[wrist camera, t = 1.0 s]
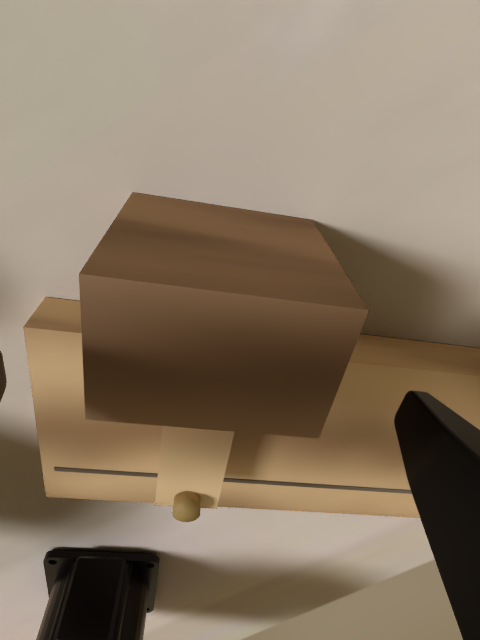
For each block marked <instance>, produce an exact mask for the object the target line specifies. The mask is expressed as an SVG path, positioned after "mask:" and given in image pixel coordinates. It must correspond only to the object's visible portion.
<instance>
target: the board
mask: <svg viewBox="0 0 480 640" xmlns="http://www.w3.org/2000/svg"><path fill="white" fill-rule="evenodd" d="M23 328H24V335H25V343H26V350H27V358H28V365H29V373H30V380H31V388H32V396H33V403H34V411H35V418H36V426H37V433H38V441H39V448H40V456H41V463H42V471H43V479H44V486H45V494H46V497H56V498H74V499H92V500H110V501H128V502H146V503H155V497H156V487H157V477H158V467H159V456H160V446H161V436H162V426H157V425H145V424H133V423H120V422H108V421H95V420H85V401H84V378H83V354H82V331H81V307H80V301H74V300H66V299H57V298H49V297H45V298H44V300H43V301H42V302H41V304H40V305H39V307H38V308H37V309H36V311H35V312H34V313H33V315H32V316H31V317H30V319H29V320H28V322H27V323H26V324H25V326H24V327H23ZM411 390H414V391H424V392H427V393H429V394H431V395H432V396H433V397H435V398H436V399H437V400H439V401H440V402H442V403H443V404H444V405H446V406H447V407H449V408H450V409H451V410H453V411H454V412H456V413H457V414H458V415H460V416H461V417H462V418H464V419H465V420H467V421H468V422H469V423H471V424H472V425H474V426H475V427H476V428H478V429H479V430H480V348H473V347H465V346H456V345H448V344H439V343H431V342H422V341H414V340H405V339H397V338H388V337H380V336H371V335H363V334H360V335H359V338H358V340H357V343H356V345H355V348H354V350H353V353H352V355H351V358H350V361H349V363H348V366H347V368H346V371H345V373H344V376H343V378H342V381H341V384H340V386H339V389H338V391H337V394H336V396H335V399H334V401H333V404H332V407H331V409H330V412H329V414H328V417H327V419H326V422H325V424H324V427H323V430H322V432H321V435H320V437H319V439H318V438H306V437H293V436H281V435H269V434H256V433H244V432H234V436H233V441H232V445H231V449H230V454H229V458H228V462H227V467H226V471H225V475H224V480H223V484H222V488H221V493H220V497H219V501H218V506H217V507H235V508H253V509H271V510H289V511H307V512H325V513H343V514H361V515H378V516H396V517H414V518H420V515H419V513H418V510H417V507H416V504H415V501H414V498H413V496H412V492H411V489H410V486H409V483H408V479H407V476H406V472H405V467H404V463H403V459H402V455H401V451H400V447H399V442H398V438H397V434H396V430H395V425H394V418H395V414H396V412H397V410H398V408H399V406H400V404H401V402H402V400H403V398H404V397H405V395H406V393H407V392H408V391H411Z"/></svg>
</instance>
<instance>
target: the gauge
mask: <svg viewBox="0 0 480 640" xmlns="http://www.w3.org/2000/svg"><path fill="white" fill-rule="evenodd" d="M79 283H80V307H81V331H82V354H83V378H84V401H85V420H95V421H108V422H120V423H133V424H145V425H157V426H162V436H161V446H160V456H159V467H158V477H157V487H156V497H155V505H158V506H173V517H174V518H175V519H177V520H179V521H182V522H190V521H194V520H196V519H197V518H198V517H199V516H200V508H212V509H217V506H218V501H219V497H220V493H221V488H222V484H223V480H224V475H225V471H226V467H227V462H228V458H229V454H230V449H231V445H232V441H233V436H234V432H244V433H256V434H269V435H281V436H293V437H306V438H318V439H319V437H320V435H321V432H322V430H323V427H324V424H325V422H326V419H327V417H328V414H329V412H330V409H331V407H332V404H333V401H334V399H335V396H336V394H337V391H338V389H339V386H340V384H341V381H342V378H343V376H344V373H345V371H346V368H347V366H348V363H349V361H350V358H351V355H352V353H353V350H354V348H355V345H356V343H357V340H358V338H359V335H360V333H361V330H362V327H363V325H364V322H365V320H366V317H367V315H368V312H369V309H368V308H367V306H366V305H365V303H364V301H363V300H362V298H361V297H360V295H359V293H358V292H357V290H356V289H355V287H354V285H353V284H352V282H351V281H350V279H349V277H348V276H347V274H346V273H345V271H344V269H343V268H342V266H341V265H340V263H339V261H338V260H337V258H336V257H335V255H334V253H333V252H332V250H331V249H330V247H329V245H328V244H327V242H326V241H325V239H324V237H323V236H322V234H321V233H320V231H319V229H318V228H317V226H316V225H315V223H314V221H313V220H309V219H303V218H296V217H290V216H283V215H277V214H270V213H264V212H257V211H251V210H244V209H238V208H231V207H225V206H219V205H212V204H206V203H199V202H193V201H186V200H180V199H173V198H167V197H160V196H154V195H147V194H141V193H134V192H132V194H131V196H130V197H129V199H128V200H127V202H126V203H125V205H124V206H123V208H122V209H121V211H120V212H119V214H118V215H117V217H116V218H115V220H114V221H113V223H112V224H111V226H110V228H109V229H108V231H107V232H106V234H105V235H104V237H103V238H102V240H101V241H100V243H99V244H98V246H97V247H96V249H95V250H94V252H93V253H92V255H91V256H90V258H89V259H88V261H87V263H86V264H85V266H84V267H83V269H82V270H81V272H80V273H79Z"/></svg>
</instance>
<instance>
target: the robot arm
mask: <svg viewBox="0 0 480 640" xmlns="http://www.w3.org/2000/svg"><path fill="white" fill-rule="evenodd" d="M5 388H6V374H5V368H4V362H3V356H2V353H1V351H0V401H1V399H2V396H3V394H4V391H5ZM394 425H395V430H396V434H397V438H398V442H399V447H400V451H401V455H402V459H403V463H404V467H405V472H406V476H407V479H408V483H409V486H410V489H411V492H412V496H413V498H414V501H415V504H416V507H417V510H418V513H419V515H420V518H421V521H422V524H423V527H424V530H425V532H426V535H427V538H428V541H429V544H430V547H431V550H432V552H433V555H434V558H435V561H436V564H437V566H438V569H439V572H440V575H441V578H442V581H443V584H444V586H445V589H446V592H447V595H448V598H449V600H450V603H451V606H452V609H453V612H454V615H455V618H456V620H457V623H458V626H459V629H460V632H461V635H462V638H463V640H480V430H479V429H478V428H476V427H475V426H474V425H472V424H471V423H469V422H468V421H467V420H465V419H464V418H462V417H461V416H460V415H458V414H457V413H456V412H454V411H453V410H451V409H450V408H449V407H447V406H446V405H444V404H443V403H442V402H440V401H439V400H437V399H436V398H435V397H433V396H432V395H431V394H429V393H427V392H424V391H414V390H411V391H408V392H407V393H406V395H405V397H404V398H403V400H402V402H401V404H400V406H399V408H398V410H397V412H396V414H395V418H394ZM158 567H159V557H158V556H157V555H153V554H134V553H108V552H83V551H57V550H52V551H48V552H47V553H46V555H45V558H44V569H45V575H46V581H47V588H48V594H49V601H48V604H47V607H46V610H45V613H44V617H43V620H42V623H41V626H40V629H39V632H38V636H37V639H36V640H143V635H144V627H145V619H146V613H148V612H151V611H153V608H154V600H155V592H156V583H157V575H158Z"/></svg>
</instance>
